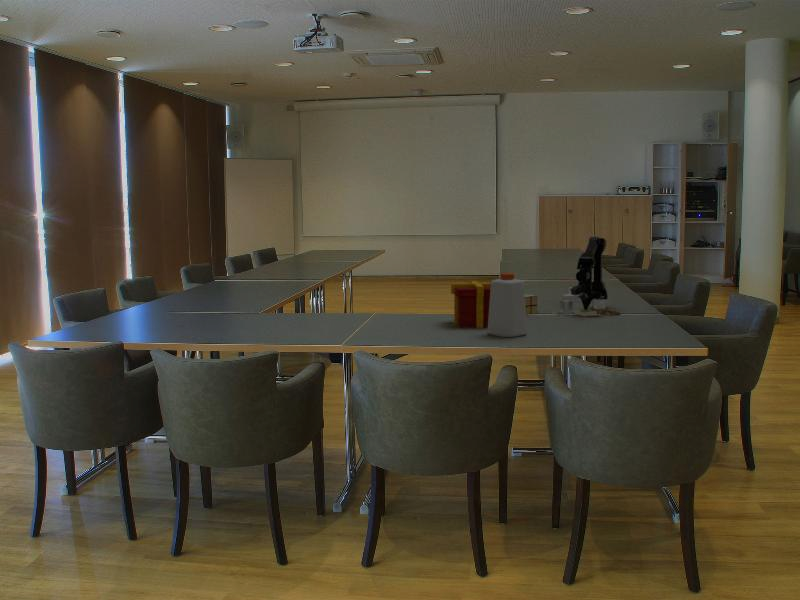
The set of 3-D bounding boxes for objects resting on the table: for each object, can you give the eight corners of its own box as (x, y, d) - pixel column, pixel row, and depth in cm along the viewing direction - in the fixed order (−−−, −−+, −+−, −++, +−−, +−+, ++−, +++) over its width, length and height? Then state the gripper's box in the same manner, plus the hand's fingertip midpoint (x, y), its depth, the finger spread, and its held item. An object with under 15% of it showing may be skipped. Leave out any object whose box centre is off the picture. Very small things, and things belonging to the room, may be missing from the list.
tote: (551, 314, 423) (551, 312, 422) (568, 313, 427) (568, 311, 426) (562, 317, 412) (562, 315, 412) (580, 315, 417) (580, 313, 416)
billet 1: (559, 313, 421) (560, 300, 420) (567, 313, 422) (567, 300, 421) (564, 314, 417) (564, 301, 416) (571, 314, 418) (572, 301, 417)
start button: (580, 315, 414) (580, 309, 414) (586, 314, 416) (586, 309, 416) (584, 316, 411) (584, 310, 410) (590, 315, 412) (591, 310, 412)
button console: (574, 316, 416) (574, 310, 415) (587, 315, 419) (587, 309, 418) (583, 318, 408) (583, 312, 408) (596, 317, 411) (596, 311, 411)
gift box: (506, 328, 382) (506, 286, 379) (454, 329, 380) (454, 286, 378) (497, 320, 406) (497, 280, 404) (448, 320, 405) (448, 281, 402)
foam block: (560, 301, 480) (560, 287, 479) (577, 300, 480) (577, 287, 479) (564, 303, 470) (564, 289, 469) (581, 303, 471) (582, 289, 470)
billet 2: (592, 312, 422) (593, 298, 421) (600, 311, 424) (600, 298, 423) (598, 313, 418) (598, 299, 417) (605, 312, 419) (605, 299, 418)
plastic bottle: (505, 330, 374) (506, 271, 370) (530, 334, 363) (531, 273, 359) (483, 334, 364) (483, 273, 361) (508, 338, 353) (508, 276, 349)
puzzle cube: (510, 313, 427) (511, 295, 426) (524, 312, 433) (524, 293, 432) (524, 316, 419) (524, 297, 418) (537, 314, 425) (537, 295, 424)
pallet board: (586, 314, 423) (586, 309, 423) (601, 312, 427) (601, 307, 426) (606, 318, 407) (606, 313, 406) (622, 317, 410) (623, 312, 410)
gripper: (562, 279, 417) (562, 308, 419) (583, 282, 399) (583, 313, 402) (580, 278, 421) (580, 307, 423) (602, 281, 404) (601, 311, 406)
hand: (585, 309), depth 413 cm, fingers closed, pressing on start button
